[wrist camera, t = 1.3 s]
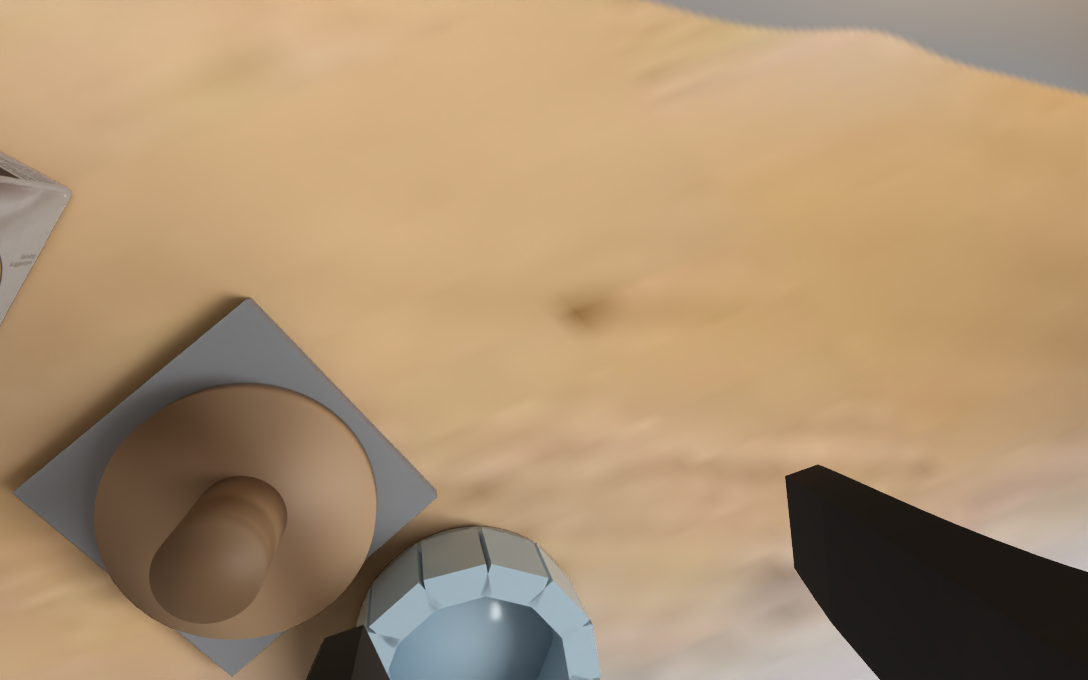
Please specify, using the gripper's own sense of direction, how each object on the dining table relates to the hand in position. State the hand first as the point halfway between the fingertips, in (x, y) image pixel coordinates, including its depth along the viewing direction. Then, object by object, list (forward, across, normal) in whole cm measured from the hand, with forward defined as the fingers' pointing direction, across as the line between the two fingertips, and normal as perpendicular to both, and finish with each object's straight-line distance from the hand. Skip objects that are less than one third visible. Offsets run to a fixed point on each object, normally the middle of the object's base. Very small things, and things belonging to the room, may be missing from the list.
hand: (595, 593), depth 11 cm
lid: (+14, +10, +4) cm, 17 cm away
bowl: (+13, +4, +12) cm, 18 cm away
